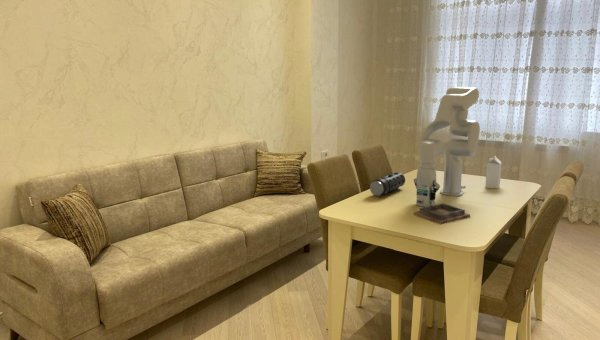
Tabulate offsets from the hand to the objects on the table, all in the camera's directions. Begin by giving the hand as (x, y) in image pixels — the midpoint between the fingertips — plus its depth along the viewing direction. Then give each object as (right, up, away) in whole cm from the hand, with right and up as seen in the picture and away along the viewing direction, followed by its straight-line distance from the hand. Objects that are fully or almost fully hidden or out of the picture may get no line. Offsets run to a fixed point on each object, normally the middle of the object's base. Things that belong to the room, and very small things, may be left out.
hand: (425, 197), depth 229 cm
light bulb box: (0, -4, +1) cm, 4 cm away
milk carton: (+51, +4, +37) cm, 63 cm away
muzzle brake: (-15, +1, +24) cm, 29 cm away
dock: (+2, -8, -19) cm, 20 cm away
